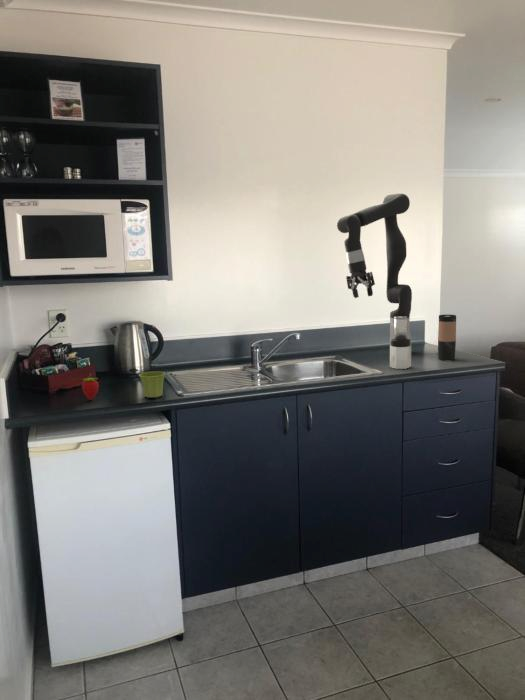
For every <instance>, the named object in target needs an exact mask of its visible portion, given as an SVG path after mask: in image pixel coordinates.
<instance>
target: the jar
mask: <svg viewBox="0 0 525 700" xmlns="http://www.w3.org/2000/svg"><path fill="white" fill-rule="evenodd" d="M409 367H410V368H411V367H412V344H411V345H410V339H407V340H402V341H399V340H394V339H391V346H390V345H389V368H392V369H394V368H395V370H407V368H408V369H409Z"/></svg>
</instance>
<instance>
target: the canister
mask: <svg viewBox="0 0 525 700" xmlns="http://www.w3.org/2000/svg"><path fill="white" fill-rule="evenodd" d="M394 340H399V341H402V340H407V316H395V317H394Z"/></svg>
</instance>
